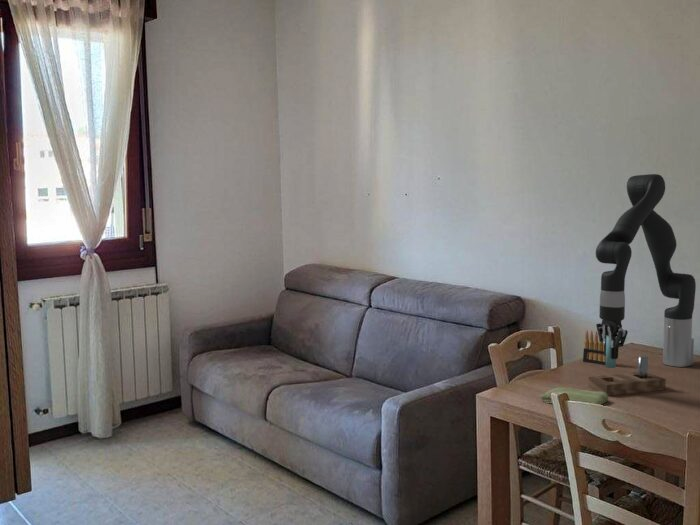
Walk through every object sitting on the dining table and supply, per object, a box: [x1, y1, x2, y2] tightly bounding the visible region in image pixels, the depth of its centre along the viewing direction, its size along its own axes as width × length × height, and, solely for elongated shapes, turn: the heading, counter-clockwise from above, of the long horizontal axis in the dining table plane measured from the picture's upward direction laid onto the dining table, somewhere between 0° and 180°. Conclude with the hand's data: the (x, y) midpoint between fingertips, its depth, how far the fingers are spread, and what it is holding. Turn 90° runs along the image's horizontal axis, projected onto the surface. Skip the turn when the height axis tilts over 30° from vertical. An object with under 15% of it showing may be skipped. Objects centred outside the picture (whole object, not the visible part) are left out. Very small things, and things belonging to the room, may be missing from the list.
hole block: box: [587, 371, 667, 397], centre depth 234 cm, size 22×10×4 cm, turn 105°
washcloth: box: [539, 387, 609, 405], centre depth 221 cm, size 13×18×3 cm
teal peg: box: [605, 335, 617, 369], centre depth 231 cm, size 3×3×10 cm
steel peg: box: [637, 355, 649, 379], centre depth 235 cm, size 3×3×10 cm
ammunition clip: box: [582, 329, 606, 366], centre depth 265 cm, size 11×2×12 cm, turn 48°
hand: (610, 357), depth 231 cm, fingers closed on teal peg, 3 cm apart
